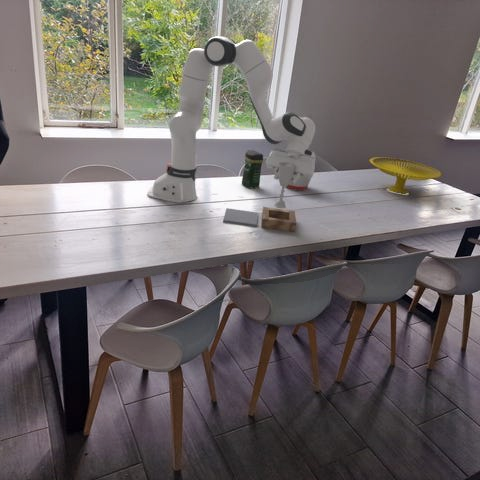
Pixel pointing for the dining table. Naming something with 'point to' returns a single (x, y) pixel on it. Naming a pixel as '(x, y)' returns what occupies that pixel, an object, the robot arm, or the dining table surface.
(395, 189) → the cake stand
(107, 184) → the dining table surface
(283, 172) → the chalice
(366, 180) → the dining table surface
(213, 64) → the robot arm
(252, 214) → the grey mat
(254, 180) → the coffee jar
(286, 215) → the walnut holder
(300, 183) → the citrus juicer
